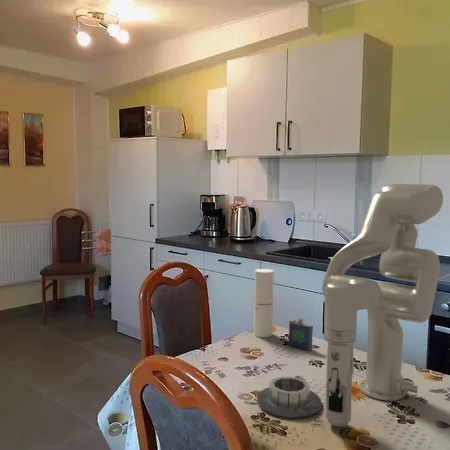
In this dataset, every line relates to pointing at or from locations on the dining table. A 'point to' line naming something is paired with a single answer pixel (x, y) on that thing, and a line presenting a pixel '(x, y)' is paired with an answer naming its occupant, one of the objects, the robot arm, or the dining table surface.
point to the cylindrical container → (263, 302)
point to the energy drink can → (345, 416)
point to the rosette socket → (289, 399)
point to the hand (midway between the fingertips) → (338, 404)
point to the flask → (300, 335)
